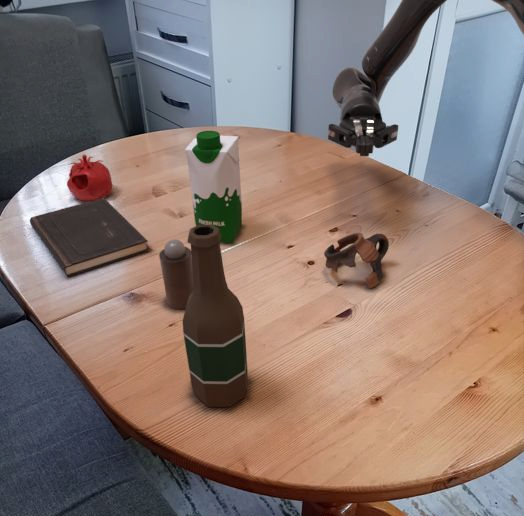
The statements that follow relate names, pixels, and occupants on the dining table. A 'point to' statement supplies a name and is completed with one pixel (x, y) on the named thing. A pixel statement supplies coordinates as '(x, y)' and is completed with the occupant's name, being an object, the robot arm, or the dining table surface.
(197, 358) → the beer bottle
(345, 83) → the robot arm
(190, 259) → the roll-on deodorant
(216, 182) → the milk carton
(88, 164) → the pomegranate
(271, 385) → the dining table surface
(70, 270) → the hardcover book
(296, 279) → the dining table surface
